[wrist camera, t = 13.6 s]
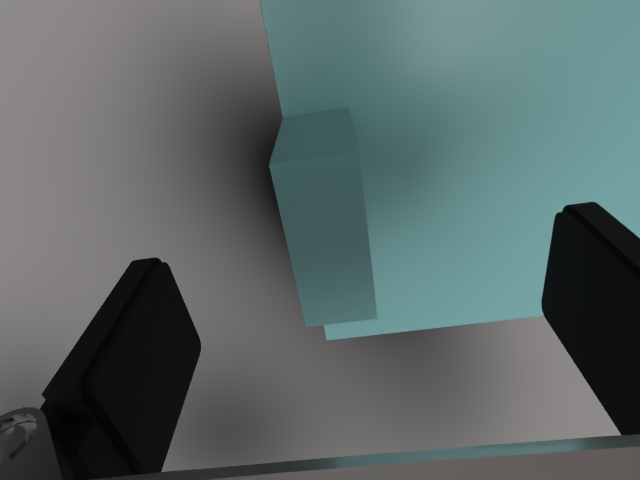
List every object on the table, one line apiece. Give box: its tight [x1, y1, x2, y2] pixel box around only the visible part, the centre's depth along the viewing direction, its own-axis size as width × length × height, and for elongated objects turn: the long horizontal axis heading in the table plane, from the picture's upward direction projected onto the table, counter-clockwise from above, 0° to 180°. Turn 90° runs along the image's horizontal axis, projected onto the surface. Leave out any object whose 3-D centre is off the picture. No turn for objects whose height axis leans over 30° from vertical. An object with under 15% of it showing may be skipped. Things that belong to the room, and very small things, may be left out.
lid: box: [260, 0, 640, 340], centre depth 16 cm, size 17×15×8 cm
